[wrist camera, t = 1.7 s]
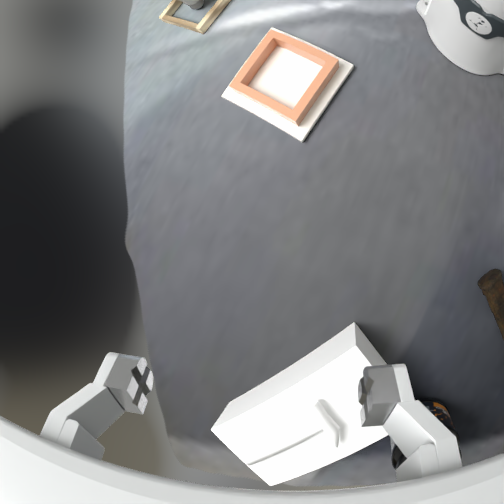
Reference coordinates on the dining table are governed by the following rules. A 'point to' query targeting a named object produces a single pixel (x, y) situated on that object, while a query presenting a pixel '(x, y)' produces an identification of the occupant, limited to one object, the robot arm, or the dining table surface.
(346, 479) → the dining table surface
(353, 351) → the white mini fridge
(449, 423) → the supplement container
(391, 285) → the dining table surface
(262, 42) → the socket
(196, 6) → the lightbulb
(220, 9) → the square wooden frame
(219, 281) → the dining table surface
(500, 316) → the hand tool
